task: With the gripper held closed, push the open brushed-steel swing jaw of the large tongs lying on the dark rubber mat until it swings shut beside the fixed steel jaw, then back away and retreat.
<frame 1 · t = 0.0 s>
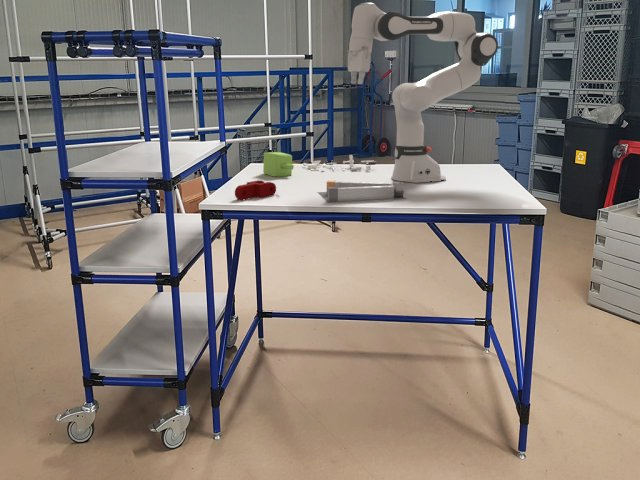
hand: (356, 83, 229), 39 cm above the table, tool pointing down, fingers open, 8 cm apart
mechanical linkage: (253, 197, 210), on the table
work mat: (360, 198, 207), on the table
miniature set: (339, 170, 270), on the table
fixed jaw: (397, 196, 205), resting on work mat
gearbox: (280, 175, 256), on the table
swing jaw: (358, 188, 208), point 3 cm above the table, hinge at -22.0°
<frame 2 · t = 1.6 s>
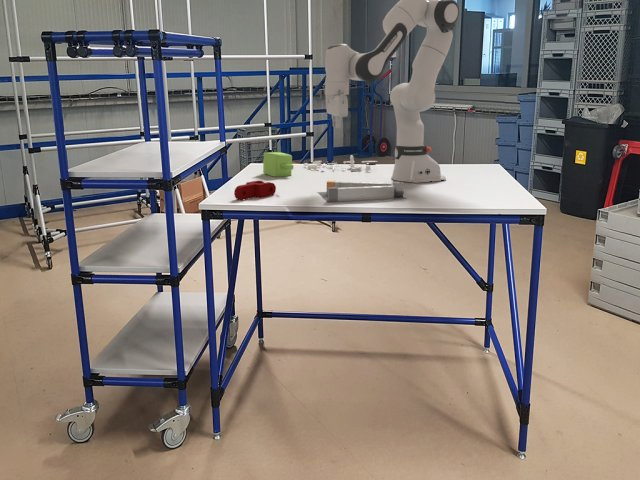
hand: (336, 127, 220), 23 cm above the table, tool pointing down, fingers open, 3 cm apart
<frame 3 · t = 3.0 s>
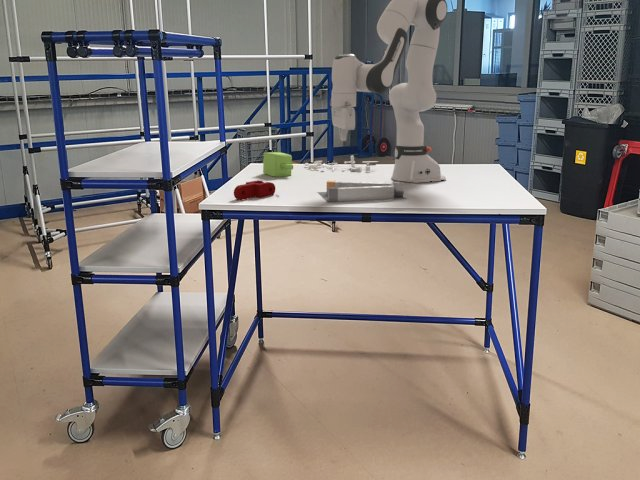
hand: (343, 140, 211), 19 cm above the table, tool pointing down, fingers closed
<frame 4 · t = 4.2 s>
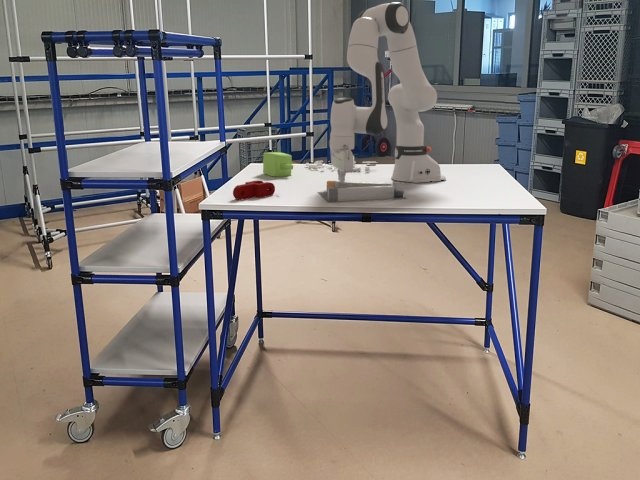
hand: (341, 181, 215), 4 cm above the table, tool pointing down, fingers closed
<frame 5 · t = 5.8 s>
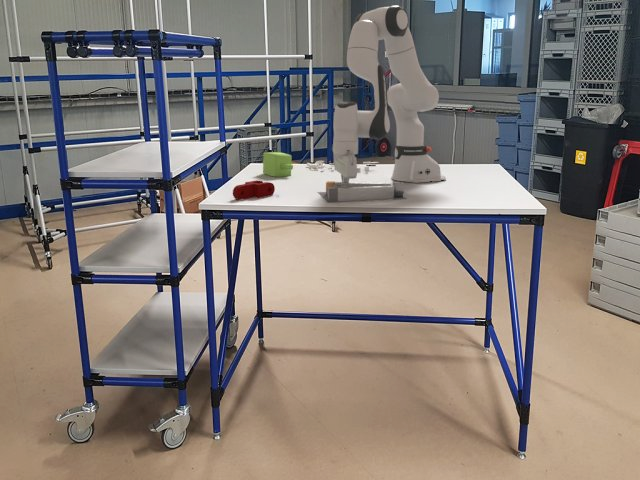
hand: (345, 186, 211), 3 cm above the table, tool pointing down, fingers closed
swing jaw: (358, 188, 208), point 3 cm above the table, hinge at -18.8°, touching gripper
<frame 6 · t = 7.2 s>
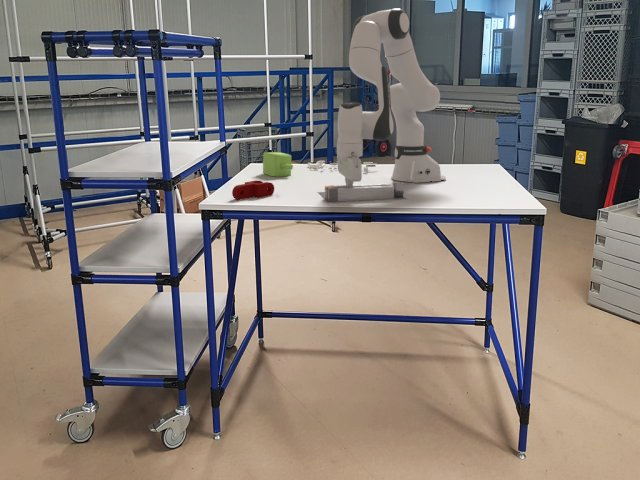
hand: (349, 190, 205), 3 cm above the table, tool pointing down, fingers closed
swing jaw: (357, 190, 203), point 3 cm above the table, hinge at 0.1°, touching gripper
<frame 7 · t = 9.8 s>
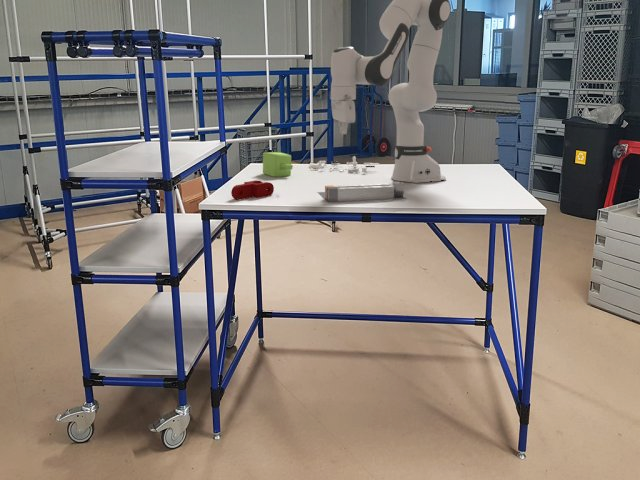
hand: (343, 133, 211), 22 cm above the table, tool pointing down, fingers closed
swing jaw: (357, 190, 203), point 3 cm above the table, hinge at 0.1°
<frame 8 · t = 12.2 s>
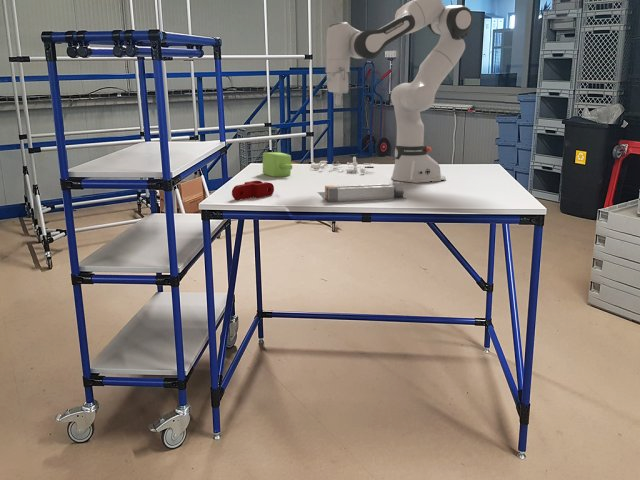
hand: (337, 104, 225), 31 cm above the table, tool pointing down, fingers closed
at the end: swing jaw at +0° (first picture: -22°) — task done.
